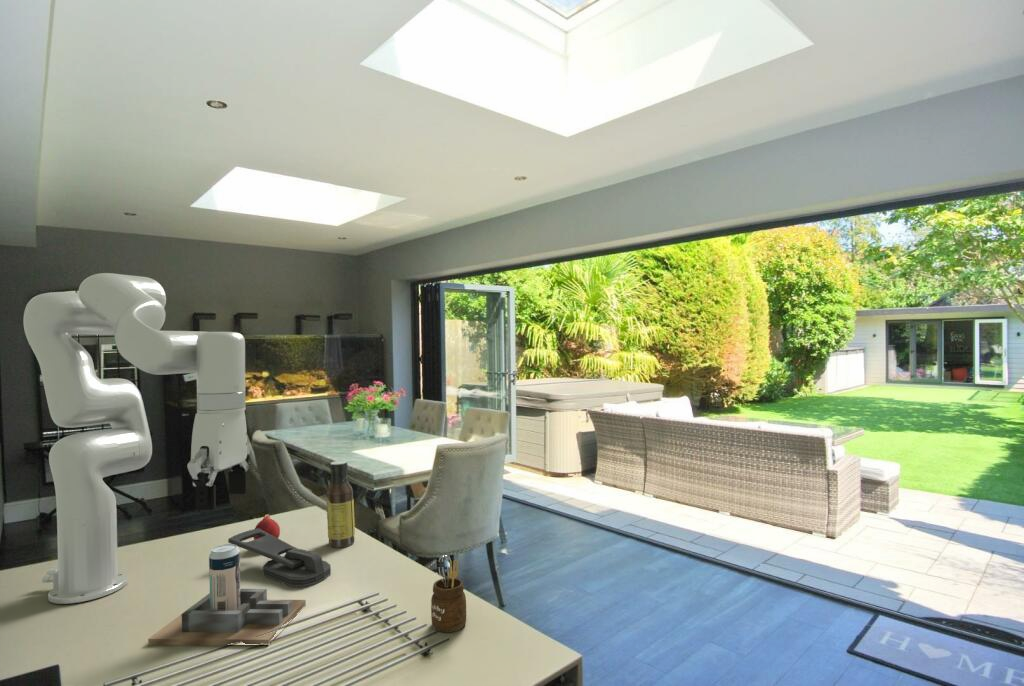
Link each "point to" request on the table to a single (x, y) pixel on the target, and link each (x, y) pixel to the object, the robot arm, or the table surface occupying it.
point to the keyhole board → (229, 621)
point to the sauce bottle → (340, 507)
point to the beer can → (224, 578)
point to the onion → (268, 527)
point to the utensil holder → (448, 602)
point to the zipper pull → (284, 559)
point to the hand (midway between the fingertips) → (222, 501)
